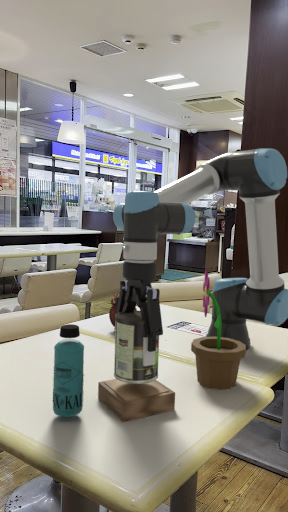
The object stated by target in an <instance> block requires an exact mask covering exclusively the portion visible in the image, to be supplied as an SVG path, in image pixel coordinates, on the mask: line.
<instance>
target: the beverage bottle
mask: <svg viewBox="0 0 288 512" xmlns="http://www.w3.org/2000/svg"><path fill="white" fill-rule="evenodd" d="M59 328H60V329H59V337H61V338H62V339H61V340H59V341H58V342H57V343H56V344H55V345H54V347H53V349H54V353H53V354H54V360H53V361H54V362H53V379H52V381H53V382H52V385H53V387H52V403H51V404H52V411H53V413H54V414H55V415H56V416H59V417H63V418H65V417H66V418H68V417H74V416H77V415H79V414H81V412H82V410H83V406H84V394H85V393H84V381H85V380H84V363H85V361H84V360H85V359H84V357H85V356H84V354H85V353H84V351H85V345H84V344H83V343H82V342H81V341H80V340H78V339H75V338H78V337H80V333H81V332H80V327H79V325H78V324H63V325H61V326H60V327H59Z"/></svg>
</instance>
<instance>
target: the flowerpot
mask: <svg viewBox="0 0 288 512" xmlns="http://www.w3.org/2000/svg"><path fill="white" fill-rule="evenodd" d="M202 283H203V285H202V290H203V293H204V295H203V297H202V307H203V312H204V313H203V314H204V317H205V318H207V316H208V315H207V314H208V306H210V299H211V300H212V301H213V303H214V305H215V308H216V313H217V320H216V322H215V324H214V326H215V327H216V328H217V329H218V332H217V337H206V336H201V337H197V338H194V339H193V340H192V341H191V345H190V351H191V352H192V353H193V354H194V355H195V365H196V377H197V382H198V383H199V384H200V385H201V386H203V387H206V388H208V389H215V390H229V389H232V388H234V387H236V384H237V380H238V374H239V369H240V364H241V363H240V362H241V359H244V358H245V357H246V352H247V351H246V345H245V344H243V343H242V342H240V341H237V340H234V339H230V338H224V337H221V316H220V309H219V306H218V303H217V301H216V299H215V297H214V295H213V293H212V291H211V289H210V287H211V286H210V276H209V273H208V269H207V268H206V269H205V272H204V281H203V282H202Z"/></svg>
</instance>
